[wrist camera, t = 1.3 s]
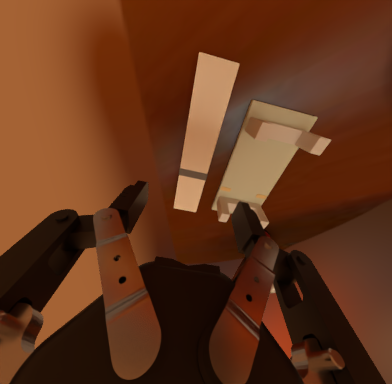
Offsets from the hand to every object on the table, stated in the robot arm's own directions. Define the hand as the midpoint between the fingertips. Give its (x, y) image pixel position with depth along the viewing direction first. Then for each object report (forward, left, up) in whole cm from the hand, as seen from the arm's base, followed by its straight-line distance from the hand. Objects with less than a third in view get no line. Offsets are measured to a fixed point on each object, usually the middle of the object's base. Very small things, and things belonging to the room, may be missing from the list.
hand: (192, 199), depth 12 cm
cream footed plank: (+2, +11, -15) cm, 18 cm away
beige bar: (0, 0, -15) cm, 15 cm away
